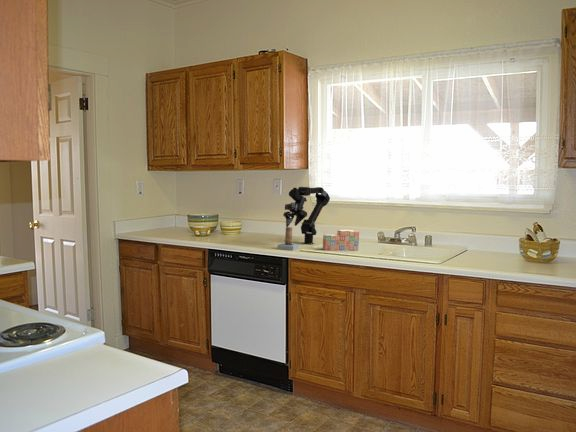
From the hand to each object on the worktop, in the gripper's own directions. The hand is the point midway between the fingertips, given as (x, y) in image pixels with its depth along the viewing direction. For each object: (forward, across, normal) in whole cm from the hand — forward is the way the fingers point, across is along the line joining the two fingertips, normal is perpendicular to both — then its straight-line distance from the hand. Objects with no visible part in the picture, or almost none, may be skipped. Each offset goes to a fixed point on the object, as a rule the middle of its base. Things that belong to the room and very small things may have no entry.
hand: (290, 226), depth 326 cm
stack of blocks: (+4, +19, +28) cm, 34 cm away
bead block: (+15, +5, +1) cm, 16 cm away
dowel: (+16, +5, +1) cm, 16 cm away
